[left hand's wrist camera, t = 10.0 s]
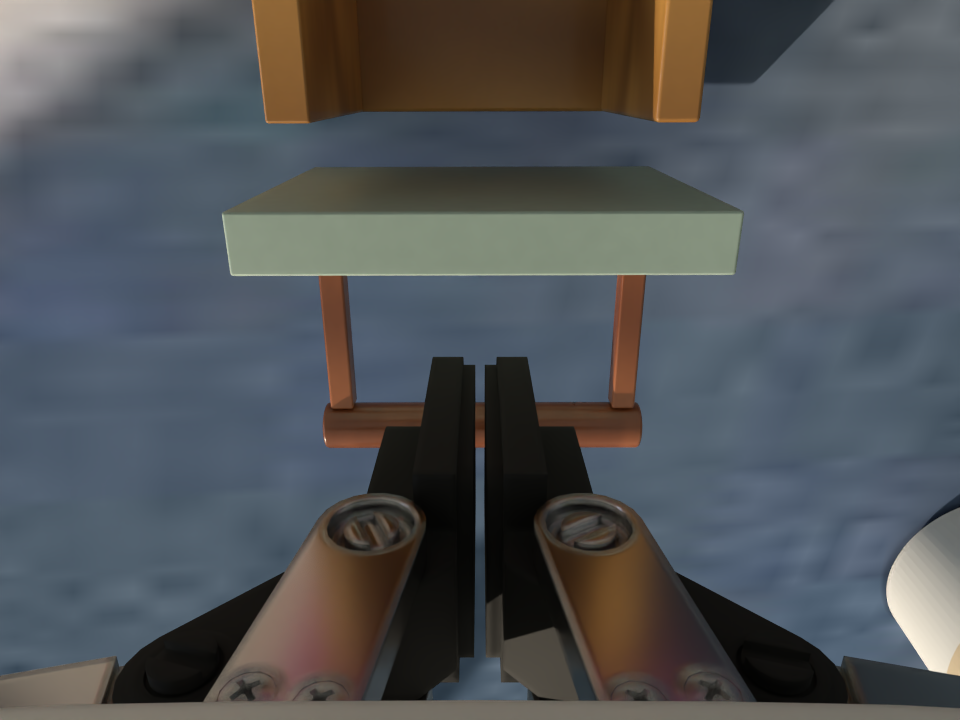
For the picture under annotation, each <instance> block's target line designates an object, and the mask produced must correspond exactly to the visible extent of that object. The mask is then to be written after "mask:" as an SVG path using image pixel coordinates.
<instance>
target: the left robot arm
mask: <svg viewBox="0 0 960 720" xmlns="http://www.w3.org/2000/svg"><path fill="white" fill-rule="evenodd" d="M475 514H476V480H475V365H464V363H463V357H433V359H432V365H431V370H430V376H429V382H428V387H427V393H426V399H425V405H424V410H423V416H422V422H421V426H386V428H385V431H384V435H383V438H382V442H381V445H380V449H379V453H378V456H377V460H376V463H375V467H374V471H373V474H372V478H371V481H370V485H369V488H368V492H367V494H363V495H358V496H353V497H350V498H348V499H345V500H342V501H339V502H338V503H336V504H335V505H333V506H331V507H330V508H328V509H327V510H326V511H325V512H324V513H323V514H322V515H321V516H320V517H319V519H318V520H317V522H316V523H315V525H314V526H313V528H312V530H311V531H310V533H309V534H308V536H307V537H306V539H305V541H304V542H303V544H302V545H301V547H300V549H299V550H298V552H297V553H296V555H295V557H294V558H293V560H292V561H291V563H290V564H289V566H288V568H287V569H286V571H285V572H283V573H282V574H280V575H278V576H276V577H274V578H272V579H270V580H268V581H266V582H264V583H262V584H260V585H259V586H257V587H255V588H253V589H251V590H249V591H247V592H245V593H243V594H241V595H239V596H238V597H236V598H234V599H232V600H230V601H228V602H226V603H224V604H222V605H220V606H218V607H217V608H215V609H213V610H211V611H209V612H207V613H205V614H203V615H201V616H199V617H197V618H196V619H194V620H192V621H190V622H188V623H186V624H184V625H182V626H180V627H178V628H176V629H174V630H173V631H171V632H169V633H167V634H165V635H163V636H161V637H159V638H158V639H156V640H155V641H153V642H151V643H150V644H148V645H147V646H145V647H144V648H142V649H141V650H140V651H139V652H138V653H137V654H136V655H135V656H133V657H132V658H131V659H130V660H129V661H128V662H127V663H126V664H125V666H120V667H119V664H118V661H117V657H116V656H112V657H107V658H101V659H95V660H89V661H83V662H77V663H72V664H66V665H60V666H54V667H48V668H43V669H37V670H31V671H25V672H19V673H14V674H8V675H2V676H0V720H960V676H958V675H952V674H946V673H941V672H935V671H929V670H923V669H917V668H912V667H906V666H900V665H894V664H888V663H883V662H877V661H871V660H865V659H859V658H853V657H848V656H844V657H843V661H842V664H841V667H840V666H835V664H834V663H833V662H832V661H831V660H830V659H829V658H828V657H827V656H825V655H824V654H823V653H822V652H821V651H820V650H819V649H818V648H816V647H815V646H813V645H812V644H810V643H809V642H807V641H805V640H804V639H802V638H801V637H799V636H797V635H795V634H793V633H791V632H789V631H787V630H786V629H784V628H782V627H780V626H778V625H776V624H774V623H772V622H770V621H768V620H766V619H764V618H763V617H761V616H759V615H757V614H755V613H753V612H751V611H749V610H747V609H745V608H743V607H742V606H740V605H738V604H736V603H734V602H732V601H730V600H728V599H726V598H724V597H722V596H721V595H719V594H717V593H715V592H713V591H711V590H709V589H707V588H705V587H703V586H701V585H700V584H698V583H696V582H694V581H692V580H690V579H688V578H686V577H684V576H682V575H680V574H678V573H677V572H675V571H674V569H673V568H672V566H671V564H670V563H669V561H668V560H667V558H666V557H665V555H664V553H663V552H662V550H661V549H660V547H659V545H658V544H657V542H656V541H655V539H654V537H653V536H652V534H651V533H650V531H649V530H648V528H647V526H646V525H645V523H644V522H643V520H642V519H641V517H640V516H639V515H638V514H637V513H636V512H635V511H634V510H633V509H632V508H630V507H629V506H627V505H625V504H624V503H622V502H621V501H618V500H615V499H612V498H610V497H607V496H602V495H597V494H593V492H592V488H591V485H590V481H589V478H588V474H587V471H586V467H585V463H584V460H583V456H582V453H581V449H580V445H579V442H578V438H577V435H576V431H575V428H574V426H539V422H538V416H537V410H536V405H535V399H534V393H533V387H532V382H531V376H530V370H529V365H528V359H527V357H497V363H496V365H485V479H484V514H485V609H486V657H500V663H501V682H520V683H521V684H522V685H524V686H525V687H526V688H528V694H527V701H517V700H443V701H433V694H432V688H434V687H435V686H436V685H438V684H439V683H440V682H459V663H460V657H474V609H475Z"/></svg>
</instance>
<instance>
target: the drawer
mask: <svg viewBox="0 0 960 720" xmlns="http://www.w3.org/2000/svg"><path fill="white" fill-rule="evenodd" d="M712 5H713V0H252V6H253V15H254V24H255V32H256V41H257V50H258V59H259V67H260V76H261V85H262V94H263V102H264V111H265V120H266V122H267V123H311V122H316V121H321V120H325V119H330V118H335V117H339V116H344V115H349V114H354V113H358V112H436V111H605V112H610V113H615V114H620V115H625V116H630V117H635V118H640V119H645V120H650V121H655V122H696V121H698V120H699V118H700V112H701V103H702V94H703V85H704V76H705V67H706V59H707V50H708V41H709V32H710V23H711V14H712ZM743 216H744V212H743V211H742V210H740V209H737V208H735V207H733V206H731V205H729V204H727V203H725V202H723V201H720V200H718V199H716V198H714V197H712V196H710V195H708V194H706V193H704V192H701V191H699V190H697V189H695V188H693V187H691V186H689V185H687V184H685V183H682V182H680V181H678V180H676V179H674V178H672V177H670V176H668V175H666V174H663V173H661V172H659V171H657V170H655V169H653V168H651V167H649V166H641V167H315V168H313V169H311V170H309V171H306V172H304V173H302V174H300V175H298V176H296V177H294V178H292V179H290V180H288V181H286V182H284V183H282V184H280V185H278V186H276V187H274V188H272V189H270V190H268V191H266V192H264V193H262V194H259V195H257V196H255V197H253V198H251V199H249V200H247V201H245V202H243V203H241V204H239V205H237V206H235V207H233V208H231V209H229V210H227V211H225V212H223V213H222V217H223V224H224V231H225V238H226V245H227V252H228V259H229V266H230V273H231V275H233V276H319V285H320V295H321V306H322V317H323V327H324V338H325V349H326V359H327V370H328V380H329V391H330V402H331V403H328V404H327V405H326V408H325V411H324V417H323V437H324V441H325V444H326V446H327V447H329V448H380V445H381V442H382V438H383V435H384V431H385V428H386V426H421V422H422V416H423V410H424V405H425V402H385V403H355V402H356V399H357V396H356V383H355V371H354V358H353V345H352V332H351V319H350V306H349V293H348V281H347V276H359V275H618V276H617V289H616V302H615V316H614V329H613V342H612V355H611V368H610V382H609V395H608V399H609V401H610V402H535V405H536V410H537V416H538V422H539V426H574V428H575V431H576V435H577V438H578V442H579V445H580V447H637V446H639V444H640V441H641V437H642V416H641V410H640V407H639V405H638V403H636V402H634V401H635V390H636V379H637V368H638V357H639V346H640V336H641V325H642V314H643V303H644V292H645V281H646V275H733V274H735V272H736V265H737V258H738V251H739V244H740V237H741V230H742V223H743ZM475 448H485V402H475Z"/></svg>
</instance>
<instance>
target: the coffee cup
mask: <svg viewBox="0 0 960 720" xmlns="http://www.w3.org/2000/svg"><path fill="white" fill-rule="evenodd" d="M887 601H888V605H889V608H890V610H891V613H892V614H893V616H894V618H895V619H896V621H897V622H898V624H899V625H900V627H901V628H902V630H903V631H904V633H905V634H906V636H907V637H908V639H909V640H910V642H911V643H912V645H913V646H914V648H915V649H916V651H917V652H918V654H919V655H920V657H921V658H922V660H923V662H924V663H925V665H926V666H927V668H928V669H929V671H935V672H941V673H946V674H952V675H958V676H960V508H957V509H955V510H953V511H950V512H948V513H946V514H944V515H942V516H941V517H939V518H937V519H936V520H934V521H933V522H931V523H930V524H928V525H927V526H925V527H924V528H923V529H922V530H920V531H919V532H918V533H917V534H916V535H915V536H914V537H913V538H912V539H911V540H910V541H909V542H908V543H907V544H906V545H905V547H904V548H903V549H902V550H901V552H900V553H899V555H898V556H897V558H896V560H895V562H894V564H893V566H892V568H891V571H890V573H889V577H888V581H887Z"/></svg>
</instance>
